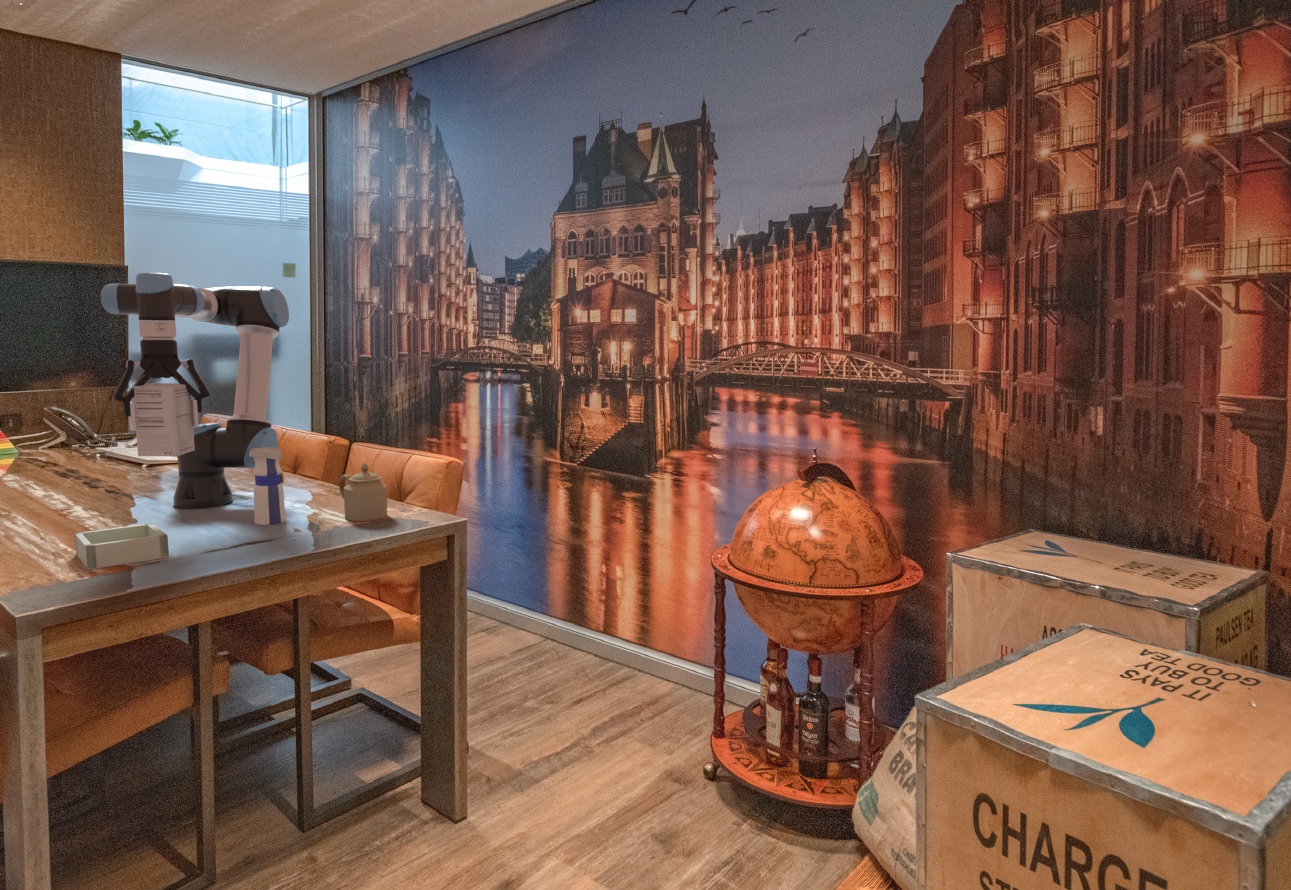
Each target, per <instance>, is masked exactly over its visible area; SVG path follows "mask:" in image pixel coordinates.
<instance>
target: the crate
mask: <svg viewBox="0 0 1291 890" xmlns="http://www.w3.org/2000/svg"><path fill="white" fill-rule="evenodd" d="M168 539H169V538H168V534H166V532H164V531H162V530H161V529H160V528H159V527H157V526H156V525H155V524H154V523H151V522H149V523H142V524H135V525H127V526H120V527H113V528H104V529H103V528H102V529H95V530H89V531H82V532H81V531H80V532H74V544H75V552H76V553H75V554H76V556H77V558H78V559H79V560H80V562H81V563H82V564H83V565H84V566H85V568H86V569H87V570H95V569H102V568H108V567H113V566H121V565H127V564H133V563H141V562H145V561H152V560H158V559H159V560H161V559H165V558H170V553H169V552H170V550H169V540H168Z"/></svg>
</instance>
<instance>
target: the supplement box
mask: <svg viewBox="0 0 1291 890" xmlns="http://www.w3.org/2000/svg"><path fill="white" fill-rule="evenodd" d="M132 386H133V385H132ZM131 388H132V389H133V388H134V393H135V396H134V397H133V398H132V400H133V401H132V402H133V403H134V408H135V421H136V431H135V434H136V435H135V436H136V446H137V447H136V448H137V455H138V457H177V456H179V455H182V454H185V453H188V452H191V451H194V450H195V445H194V432H193V418H192V404H191V400H192V395H191V394H190V393H189V391H188V390H187V389H186V386H185V385H182V384H179V383H178V382H177V383H170V382H169V383H168V382H167V383H160V382H155V383H152V382H151V383H145V384H144V385H143V386H133V387H131Z"/></svg>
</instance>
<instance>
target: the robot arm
mask: <svg viewBox="0 0 1291 890" xmlns="http://www.w3.org/2000/svg"><path fill="white" fill-rule="evenodd" d="M100 303H101V305H102V307H103V308H104V310H105V311H106V312H107V313H109V314H112V315H120V316H121V315H134V316H135V315H136V316H138V330H139V337H140V338H142V339H141V340H140V342H139V343H140V357H141V358H140V360H132V359H127V360H126V361H125V370H124V372H123V375H122V376H121V378H120V381H119V383H118V385H117V386H116V387H117V388H116V389H115V391H114V394H113V395H112V399H113V400H115V401H119V402H121V403H122V410H123V415H124V417H128V419H129V430H130V431H133V432H136V421H135V408H134V402H133V401H132V400H133V397H134V396H135V393H134V388H133V389H132V387H133V386H143V385H145V384H147V382H148V381H149V380H150V379H151V378H153V379H161V378H164V379H171V378H173V379H174V380H175V381H176V382H177V384H182V385H185V386H186V389H187V390H188V391H189V393H190V394H191V397H193V399H191V404H192V418H193V432H194V445H195V450H194V451H191V452H188V453H185V454H182V455H179V456H176V457H177V458H176V459H177V468H178V481H177V483H176V488H175V491H174V495H173V498H172V499H173V506H174V507H177V508H183V509H184V508H186V509H199V508H211V507H218V506H222V505H223V506H224V505H226V504H229V503H232V502H233V500H234V499H233V498H234V497H233V492H232V490H231V487H230V486H229V482H228V480H227V478H226V476H225V469H230V468H231V469H249V470H254V469H255V460H254V457H250V456H249V453H250V450H251V449H255V448H265V447H275V448H278V447H279V438H278V433H277V431H276V430H275V429H273V428H272V422H271V421H269V419H268V418H267V413H268V402H269V401H268V400H269V390H270V379H271V367H272V355H273V345H274V344H273V343H274V339H275V338H277V337H278V336H279V335H280V328H283V327H286V326H287V325H288V323H289V318H290V312H289V311H290V309H289V305H288V302H287V300H286V298H285V295H284V294H283V292H282V291H281V290H280V289H278V288H276V287H272V286H271V287H270V286H264V285H262V286H218V287H208V288H207V287H206V288H203V287H199V288H198V287H196V286H195V285H190V284H188V283H187V284H182V283H181V284H180V283H174V280H173V276H171V275H170V274H169V273H164V272H163V273H162V272H139V273H138V274H136V276H135V283H120V282H118V283H109V284H106V285H104V286H103V288H102V289H101V291H100ZM176 317H179V318H191V319H193V320H194V321H196V322H199V323H200V322H202V323H209V324H217V325H221V326H227V327H228V326H230V327H235V330H236V331H237V333H238V334H239V335H240V344H239V350H238V351H239V354H238V362H237V363H238V364H237V373H236V374H237V375H236V376H237V377H236V383H235V384H236V387H235V394H234V397H235V398H234V408H233V414H232V416H230V417H229V418H228V419H227V421H226V427H223V425H222V423H221V422H217V421H216V422H209V423H208V422H207V423H200V424H199V414H200V413H202V412H203V407H202V406H203V405H202V404H203V403H202V399H204V398H207V397H209V396H210V392H209V390H208V389H207V387H206V385H205V384H204V382H203V380H202V379H201V377H200V375H199V374H198V372H197V370H196V368H195V364H194V360H192V359H191V358H186V359H184V360H183V359H181V360H180V359H179V352H178V342H177V340H176V339H175V338H177V329H176V328H177V326H176ZM139 366H140V368H141V369H142V371H143V373H142V374H141V375H140V376H139V378H138V379H137V380H136V381H135V382H134V384H133V385H132V387H131V388H130V389H129V390H128V391H127V393H125V391H126V389H127V387H128V384H129V382H130V380H131V378H132V376H133V373H134V371H135V370H137V369H138V367H139ZM180 366H182V367H183V368H184V369H186V371H187V373H188V374H189V376H190V378H191V380H192V381H193V383H194V384H195V386H196V388H197V389H198V391H199V392H198V391H197V390H196V389H195V388H194V387H193V386H192V385H191V384H190V383H189V382H188V381H187V380H186V379H185V378H184V377H183V375H181V374H180V373H179V372H178V369H179V368H180ZM124 393H125V395H124ZM278 449H279V448H278Z"/></svg>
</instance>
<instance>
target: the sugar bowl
mask: <svg viewBox="0 0 1291 890" xmlns="http://www.w3.org/2000/svg"><path fill="white" fill-rule="evenodd" d="M360 470H361V472H359V473H355V474H353V475H352V476H351V475H350V474H348V473H347V474H343V475H341V476H340V477H339V480H338V486H339V487H338V488H339V492H340V495H341V497H342V499H343V505H344V518H345V520H347V521H349V522H350V521H351V522H352V521H353V522H371V521H373V522H374V521H378V519H379V520H382V519H384V518H386V517H387V516H388V496H387V495H388V490H387V484H384V483H382V482H381V480H382V477H381V476H379V475H378V474H377V473H374V472H370V471H369V465H368V464H367V463H366V462H363V463H362V465H361V466H360ZM346 483H347V485H346Z"/></svg>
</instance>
